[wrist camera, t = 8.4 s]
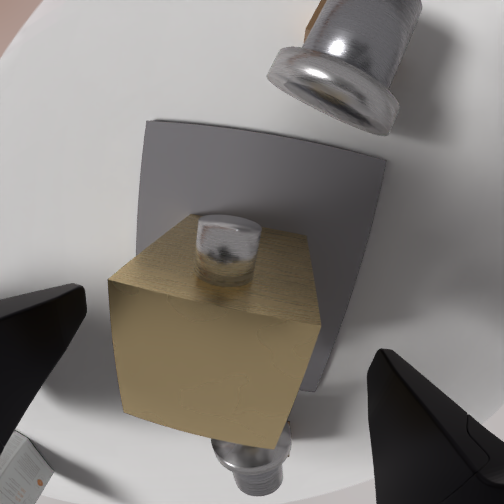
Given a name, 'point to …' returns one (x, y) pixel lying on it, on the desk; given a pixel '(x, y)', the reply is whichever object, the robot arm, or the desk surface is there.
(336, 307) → the mat
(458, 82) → the desk surface
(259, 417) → the coupler
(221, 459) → the shaft
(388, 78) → the shaft
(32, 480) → the small box
